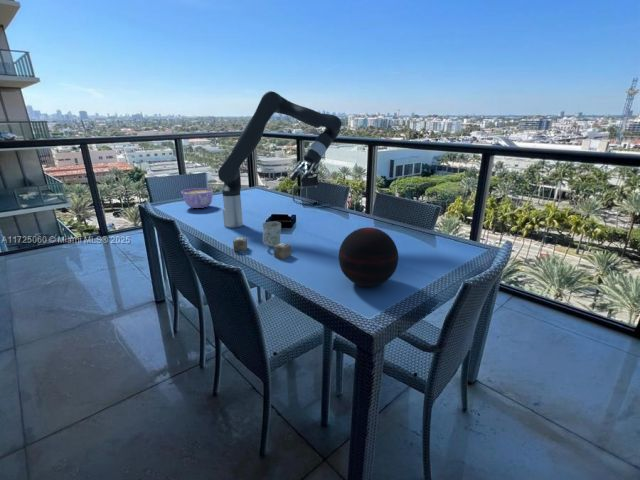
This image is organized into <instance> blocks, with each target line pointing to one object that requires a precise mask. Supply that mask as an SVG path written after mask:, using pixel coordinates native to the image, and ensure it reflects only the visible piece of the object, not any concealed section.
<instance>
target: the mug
mask: <svg viewBox="0 0 640 480" xmlns="http://www.w3.org/2000/svg"><path fill="white" fill-rule="evenodd" d="M262 228H263V229H262V230H263V234H262V243H263V245H265V246H266V247H267V246H268V247H270V248H272V247H273V248H274V246H275V245H277V244H279V243H281V231H282V223H281V222H279V221H276V220H275V221H274V220H273V221H272V220H271V221H270V220H269V221H266V222H263V223H262Z"/></svg>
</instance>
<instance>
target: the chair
mask: <svg viewBox="0 0 640 480" xmlns="http://www.w3.org/2000/svg"><path fill="white" fill-rule="evenodd" d="M304 174H305V172H303V173H301V178H302V177H303V175H304ZM320 174H321V172H320V171H318V172H317V171H315V173H314V175H313V176H310V177H308V178H307V180H306V181H305V183H302V182H301V185H300V186H299V185H298V186H297V185H294V186H293V187H292V190H291V191H292V193H291V195H292V201H293V202H294V201H295V202H298V203H301V204H304V205H309V206H311V205H310V204H313V203H314V202H313V201H315V200H314V199H311V198H309V196H308V195H309V194H308V192H309V191H308V189H312V188H315V189H316V188H317V187H318V185H319V176H318V175H320ZM295 189H296V190H299V191H301V190H303V189H305V193H306V194H305V195H306V196H305V197H306V200H307V199H308V200H307V201H309V200H312V201H311V202H312V203H302V202H300V201H296V200H295ZM295 202H294V203H295ZM298 203H297V204H298ZM301 204H300V205H301ZM304 205H303V206H304Z"/></svg>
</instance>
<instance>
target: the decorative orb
mask: <svg viewBox="0 0 640 480" xmlns="http://www.w3.org/2000/svg"><path fill="white" fill-rule="evenodd" d="M398 264H399V251H398V248H397V245H396V243H395V241H394V240H393V239H392V237H391V236H390V235H389V234H388V233H386V232H385V231H384V230H381V229H379V228H375V227H362V228H358V229H355V230H353V231H352V232H350V233H349V234H348V235H346V237H344V240H343V241H342V243H341V244H340V247H339V251H338V265H339V267H340V269H341V271H342V273H343V275H344V276H345V277H346V278H347V279H348V280H349V281H350V282H352V283H353V284H356V285H358V286H359V287H360V286H361V287H366V288H368V287H370V288H371V287H377V286H379V285H383V284H384V283H386V282H387V281H388V280H389V279H390V278H391V277H392V276H393V275H394V273H395V272H396V269H397V267H398Z"/></svg>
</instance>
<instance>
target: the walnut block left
mask: <svg viewBox="0 0 640 480" xmlns="http://www.w3.org/2000/svg"><path fill="white" fill-rule="evenodd" d="M232 244H233V252H234V253H236V252H235V251H246V252H247V250H248V239H247V237H246V236H245V237H244V236H243V237H242V236H241V237H240V236H239V237H234V239H233V241H232ZM246 249H247V250H246Z"/></svg>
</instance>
